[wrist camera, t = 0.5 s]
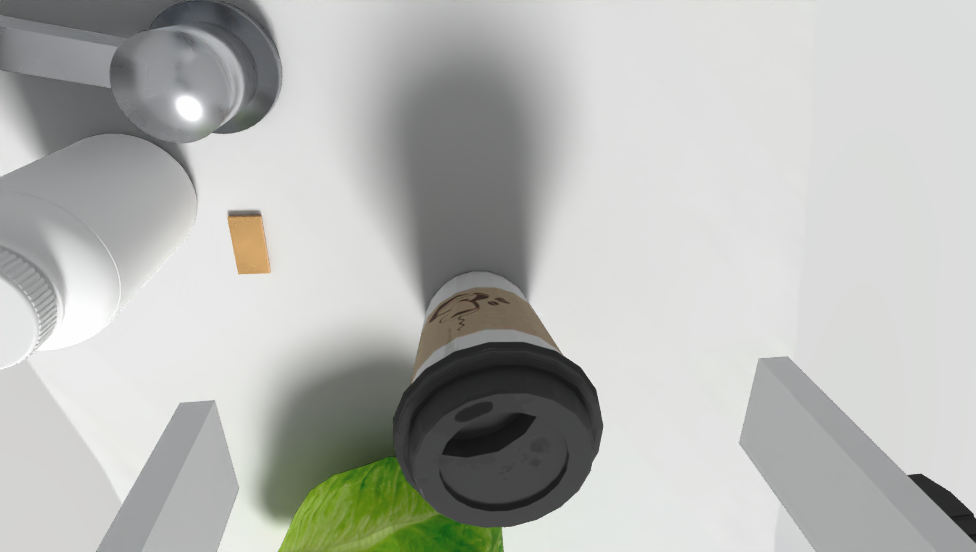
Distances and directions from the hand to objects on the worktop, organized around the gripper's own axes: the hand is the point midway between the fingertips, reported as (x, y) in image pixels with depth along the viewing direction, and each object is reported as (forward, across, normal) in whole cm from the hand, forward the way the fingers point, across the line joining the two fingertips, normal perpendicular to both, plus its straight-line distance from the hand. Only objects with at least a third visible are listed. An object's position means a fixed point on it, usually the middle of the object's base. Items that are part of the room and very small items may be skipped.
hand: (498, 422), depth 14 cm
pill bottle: (+26, -20, -2) cm, 32 cm away
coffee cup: (+26, +2, -12) cm, 28 cm away
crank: (+24, -18, +7) cm, 31 cm away
